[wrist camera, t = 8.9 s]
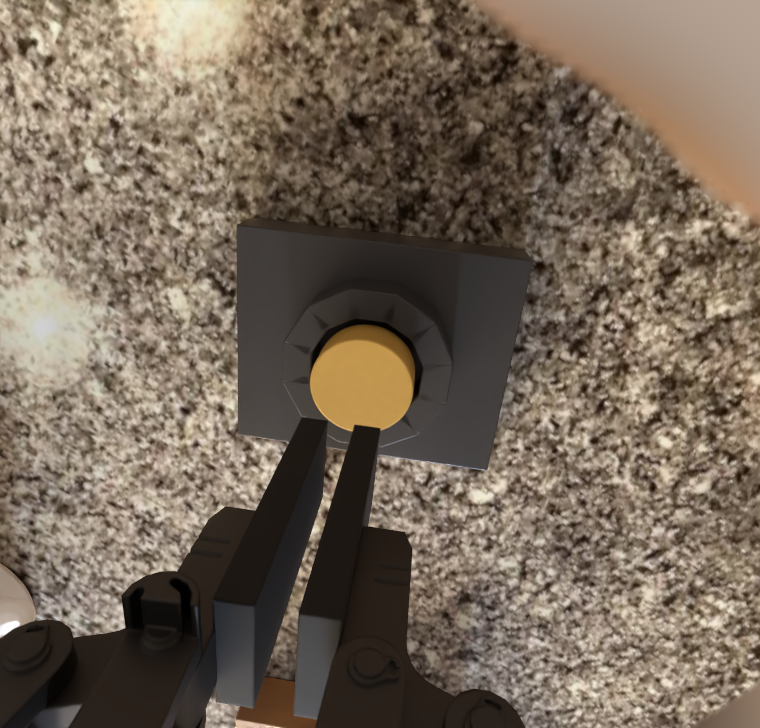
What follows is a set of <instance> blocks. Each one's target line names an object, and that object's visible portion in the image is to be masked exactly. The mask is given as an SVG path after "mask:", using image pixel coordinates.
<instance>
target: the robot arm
mask: <svg viewBox="0 0 760 728" xmlns="http://www.w3.org/2000/svg"><path fill="white" fill-rule="evenodd" d="M327 426H328V421H327V420H320V419H313V418H306V417H302V418H301V420H300V422H299V424H298V426H297V428H296V430H295V432H294V434H293V436H292V438H291V440H290V442H289V444H288V446H287V448H286V450H285V452H284V454H283V456H282V459H281V461H280V463H279V465H278V467H277V469H276V471H275V473H274V475H273V477H272V479H271V481H270V483H269V485H268V487H267V489H266V491H265V493H264V495H263V497H262V499H261V501H260V503H259V505H258V507H257V509H256V511H253V510H246V509H240V508H233V507H227V506H226V507H224V508H223V509H222V510H220V511H219V512H218V513H217V514H215V515H214V516H213V517H211V518H210V519H209V520H208V522H207V523H206V525H205V527H204V528H203V530H202V532H201V533H200V535H199V538H198V539H197V540H196V541H195V543H194V545H193V546H192V548H191V551H190V553H188V555H187V556H186V558H185V560H184V561H183V563H182V565H181V566H180V568H179V569H178V571H177V572H176V571H167V572H158V573H154V574H151V575H148V576H145V577H143V578H142V579H140V580H138V581H137V582H135V583H133V584H132V585H131V586H130V587H129V588H128V589H127V590H126V591H125V592H124V593H123V595H122V603H123V611H124V618H125V626H126V628H125V629H122V630H120V631H116V632H111V633H106V634H98V635H91V636H83V637H75V638H73V635H72V632H71V629H70V628H69V627H68V626H66V625H65V624H64V623H62V622H60V621H54V620H48V619H47V620H40V621H33V622H29V623H27V624H24V625H22V626H20V627H17V628H15V629H13V630H11V631H10V632H8V633H7V634H6V635H4V636H3V637H1V638H0V728H205V723H206V707H207V704H208V702H209V699H210V697H211V695H212V692H213V690H214V687H215V693H216V702H219V703H225V704H230V705H236V706H242V707H248V708H254V707H255V704H256V701H257V697H258V694H259V691H260V688H261V685H262V682H263V679H264V676H265V673H266V670H267V667H268V664H269V661H270V657H271V654H272V651H273V648H274V645H275V642H276V639H277V636H278V633H279V630H280V627H281V624H282V620H283V617H284V614H285V611H286V608H287V605H288V602H289V599H290V596H291V593H292V590H293V587H294V584H295V580H296V577H297V574H298V571H299V568H300V565H301V562H302V559H303V556H304V553H305V550H306V547H307V544H308V540H309V537H310V534H311V531H312V528H313V525H314V522H315V519H316V516H317V513H318V510H319V507H320V504H321V500H322V497H323V483H324V468H325V454H326V440H327ZM380 430H381V428H377V427H369V426H362V425H354V428H353V431H352V435H351V438H350V442H349V445H348V448H347V452H346V455H345V459H344V462H343V465H342V469H341V472H340V475H339V479H338V482H337V486H336V489H335V492H334V496H333V499H332V503H331V506H330V509H329V513H328V516H327V520H326V523H325V526H324V530H323V533H322V536H321V540H320V543H319V547H318V550H317V553H316V557H315V560H314V564H313V567H312V570H311V574H310V577H309V580H308V584H307V587H306V591H305V594H304V597H303V601H302V604H301V608H300V611H299V619H298V637H297V656H296V674H295V693H294V711H293V715H294V716H300V717H306V718H312V719H317V722H316V726H315V728H525V726H524V724H523V722H522V721H521V719H520V717H519V715H518V713H517V711H516V710H515V709H514V708H513V707H512V706H511V705H510V704H509V703H508V702H507V701H506V700H505V699H503V698H502V697H500V696H498V695H496V694H494V693H492V692H490V691H486V690H479V689H472V690H468V691H463V692H461V693H459V694H458V695H457V696H456V697H455V696H453V695H451V694H449V693H447V692H445V691H443V690H441V689H439V688H437V687H436V686H434V685H432V684H431V683H429V682H428V681H426V680H425V679H424V678H423V677H422V676H421V675H420V674H419V673H418V672H417V671H416V669H415V668H414V666H413V665H412V663H411V661H410V658H409V655H408V653H407V643H406V640H407V624H408V609H409V593H410V577H411V562H412V547H411V545H410V543H409V541H408V538H407V536H406V534H405V532H401V531H394V530H388V529H381V528H374V527H368V523H369V517H370V512H371V506H372V498H373V490H374V481H375V473H376V464H377V456H378V447H379V439H380Z"/></svg>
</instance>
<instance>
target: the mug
mask: <svg viewBox="0 0 760 728" xmlns="http://www.w3.org/2000/svg"><path fill="white" fill-rule="evenodd" d="M35 619H36V609H35V607H34V604H33V600H32V598H31V595H30V593H29V591H28V590H27V588H26V587H25V585H24V584H23V583H22V581H21V580H20V579H19V578H18V577H17V576H16V575H15V574H14V573H13V572H11V571H10V570H9V569H8V568H6V567H5V566H4V565H2V564H1V563H0V638H1V637H3V636H4V635H6V634H7V633H8V632H10V631H11V630H13V629H15V628H17V627H20V626H22V625H24V624H27V623H29V622H33V621H35Z"/></svg>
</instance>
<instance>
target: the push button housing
mask: <svg viewBox="0 0 760 728" xmlns="http://www.w3.org/2000/svg"><path fill="white" fill-rule="evenodd" d="M532 264H533V260H532V259H531V258H530V257H529V255H528V254H527V253H526V251H525V250H521V249H512V248H504V247H496V246H488V245H479V244H471V243H463V242H454V241H446V240H438V239H430V238H421V237H413V236H405V235H396V234H388V233H380V232H372V231H363V230H355V229H347V228H339V227H330V226H322V225H314V224H305V223H297V222H289V221H281V220H272V219H264V218H256V217H254V218H252V219H249V220H247V221H245V222H242V223H240V224H237V325H238V434H239V435H242V436H249V437H256V438H263V439H270V440H277V441H284V442H290V440H291V438H292V436H293V434H294V432H295V430H296V428H297V426H298V424H299V422H300V420H301V418H302V417H306V418H313V419H320V420H327V421H328V426H327V440H326V448H332V449H339V450H346V451H347V448H348V445H349V442H350V438H351V435H352V431H349V430H346V429H343V428H341V427H339V426H337V425H335V424H334V423H332V422H331V421H329V420H328V419H327V418H326V417H325V416H324V415H323V414H322V413H321V412H320V410H319V409H318V407H317V406H316V404H315V402H314V399H313V397H312V393H311V388H310V377H311V372H312V368H313V366H314V364H315V362H316V360H317V358H318V356H319V354H320V353H321V351H322V349H323V347H324V346H325V344H326V343H327V341H328V340H329V339H330V338H331V337H332V336H333V335H334V334H336V333H337V332H339V331H340V330H342V329H344V328H347V327H350V326H354V325H361V324H367V325H375V326H379V327H382V328H385V329H387V330H389V331H391V332H392V333H394V334H396V335H397V336H398V337H399V338H400V339H401V340H402V341H403V342H404V343H405V344H406V346H407V347H408V348H409V350H410V352H411V354H412V357H413V359H414V364H415V381H414V391H413V397H412V401H411V404H410V406H409V408H408V410H407V412H406V413H405V414H404V416H403V417H402V418H401V419H400V420H399V421H397V422H396V423H395V424H393V425H392V426H390V427H388V428H386V429H383V430H380V439H379V447H378V455H381V456H388V457H395V458H402V459H409V460H416V461H423V462H430V463H437V464H444V465H451V466H458V467H465V468H472V469H479V470H487V469H488V464H489V460H490V455H491V451H492V446H493V442H494V437H495V433H496V428H497V423H498V419H499V414H500V410H501V405H502V401H503V396H504V392H505V387H506V383H507V378H508V373H509V369H510V364H511V360H512V355H513V351H514V346H515V342H516V337H517V332H518V328H519V323H520V319H521V314H522V310H523V305H524V301H525V296H526V291H527V287H528V282H529V278H530V273H531V269H532Z"/></svg>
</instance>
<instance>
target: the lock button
mask: <svg viewBox="0 0 760 728" xmlns="http://www.w3.org/2000/svg"><path fill="white" fill-rule="evenodd" d="M414 381H415V364H414V359H413V357H412V354H411V352H410V350H409V348H408V347H407V346H406V344H405V343H404V342H403V341H402V340H401V339H400V338H399V337H398V336H397V335H396V334H394V333H392V332H391V331H389V330H387V329H385V328H382V327H379V326H375V325H367V324H361V325H354V326H350V327H347V328H344V329H342V330H340V331H339V332H337V333H336V334H334V335H333V336H332V337H331V338H330V339H329V340H328V341H327V343H326V344H325V346H324V347H323V349H322V351H321V353H320V354H319V356H318V358H317V360H316V362H315V364H314V366H313V368H312V372H311V377H310V388H311V393H312V397H313V399H314V402H315V404H316V406H317V407H318V409H319V410H320V412H321V413H322V414H323V415H324V416H325V417H326V418H327V419H328V420H329V421H331V422H332V423H334V424H335V425H337V426H339V427H341V428H343V429H346V430H349V431H353V428H354V425H362V426H369V427H377V428H381V430H383V429H386V428H388V427H390V426H392V425H393V424H395V423H396V422H397V421H399V420H400V419H401V418H402V417H403V416H404V414H405V413H406V412H407V410H408V408H409V406H410V404H411V401H412V397H413V391H414Z"/></svg>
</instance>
